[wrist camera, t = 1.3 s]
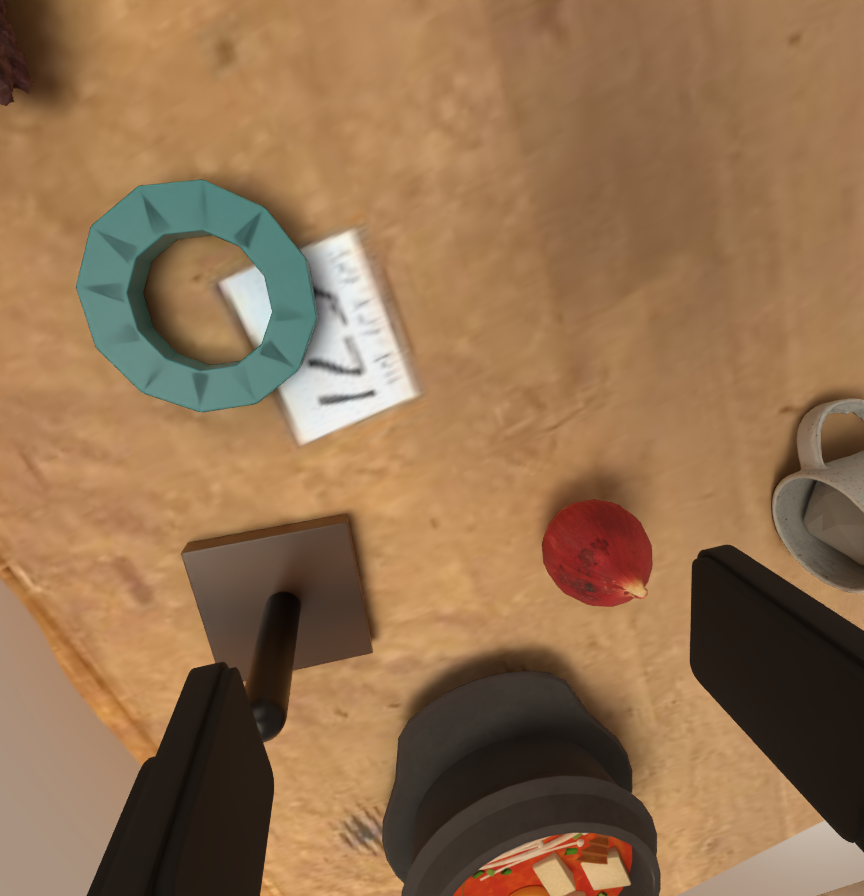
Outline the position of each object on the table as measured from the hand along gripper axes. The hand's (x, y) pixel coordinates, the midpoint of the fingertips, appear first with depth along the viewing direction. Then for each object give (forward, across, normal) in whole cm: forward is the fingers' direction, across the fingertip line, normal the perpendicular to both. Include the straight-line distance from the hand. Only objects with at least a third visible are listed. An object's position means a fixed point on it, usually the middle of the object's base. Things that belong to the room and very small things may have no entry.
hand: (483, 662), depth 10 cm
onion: (+20, -10, +9) cm, 23 cm away
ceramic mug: (+20, -28, +9) cm, 35 cm away
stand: (+19, +8, +9) cm, 23 cm away
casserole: (+19, -4, +30) cm, 35 cm away
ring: (+19, +8, -8) cm, 22 cm away
